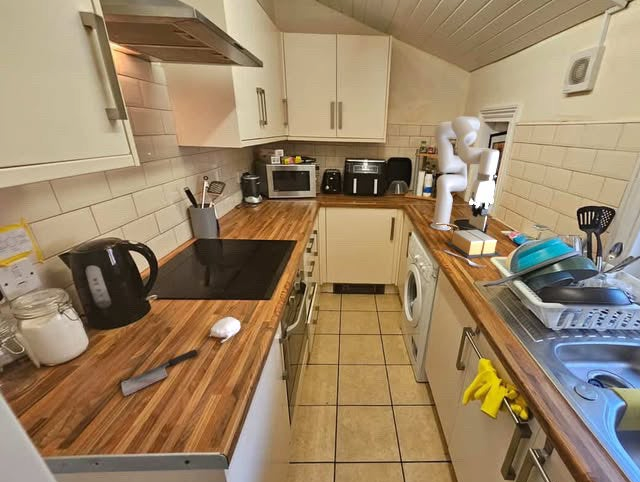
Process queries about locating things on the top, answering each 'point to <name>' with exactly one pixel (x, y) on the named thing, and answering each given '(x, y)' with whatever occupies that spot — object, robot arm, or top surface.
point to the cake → (473, 244)
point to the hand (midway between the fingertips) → (478, 215)
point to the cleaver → (151, 375)
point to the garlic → (225, 328)
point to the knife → (479, 218)
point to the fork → (466, 259)
